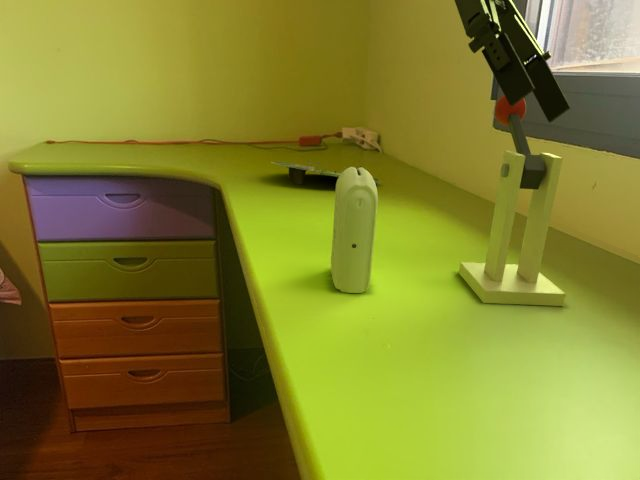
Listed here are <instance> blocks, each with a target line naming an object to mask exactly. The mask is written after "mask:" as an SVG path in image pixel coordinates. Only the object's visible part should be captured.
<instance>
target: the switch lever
mask: <svg viewBox="0 0 640 480" xmlns="http://www.w3.org/2000/svg"><path fill="white" fill-rule="evenodd" d="M526 112H527V103H526V100H525V97H524V98H523V99H521V100H520V101H519V102H518V103H516V104H515V105H514V106H510V104H509V103H508V101H507V99H506V97H505V95H504V94H503V95H502V96H501V97H500V98H499V99H498V100H497V102H496V103H495V105H494V115H495V119H496V120H497V122H498V123H499V124H501V125H503V126H505V127H508V128H509V132H510V135H511V138H512V141H513V145H514V147H515V152H517V153H519V154H522V155H524V156H525V161H524V167H523V172H522V178H521V183H520V189H521V190H522V189H523V190H533V189H537V190H538V189H539V186H540V184H541V181H542V179H543V176H544V174H545V171H546V170H545V167H544V164H543V161H542V158H541V155H540V154H532V152H531V148H530V145H529V143H528V139H527V137H526V133H525V130H524V127H523V123H522V120H523V119H524V116H525V115H526ZM520 189H519V190H520Z"/></svg>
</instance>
